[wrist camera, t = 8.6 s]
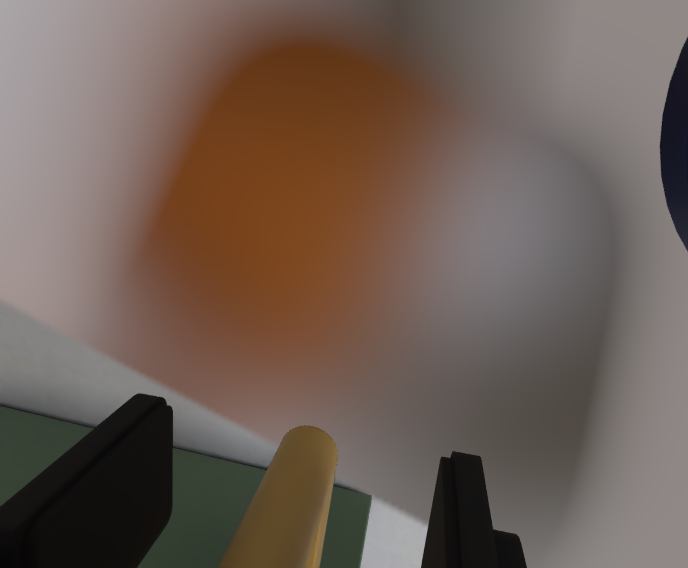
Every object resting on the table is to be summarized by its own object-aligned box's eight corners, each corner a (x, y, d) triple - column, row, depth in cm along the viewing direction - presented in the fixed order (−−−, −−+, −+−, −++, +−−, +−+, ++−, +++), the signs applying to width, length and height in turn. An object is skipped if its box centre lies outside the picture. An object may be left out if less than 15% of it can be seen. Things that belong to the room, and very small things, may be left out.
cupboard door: (-26, 268, 21) (-1236, 584, 6) (399, 356, 18) (265, 1247, 3) (-15, 420, 23) (-879, 944, 8) (368, 514, 20) (201, 1501, 6)
